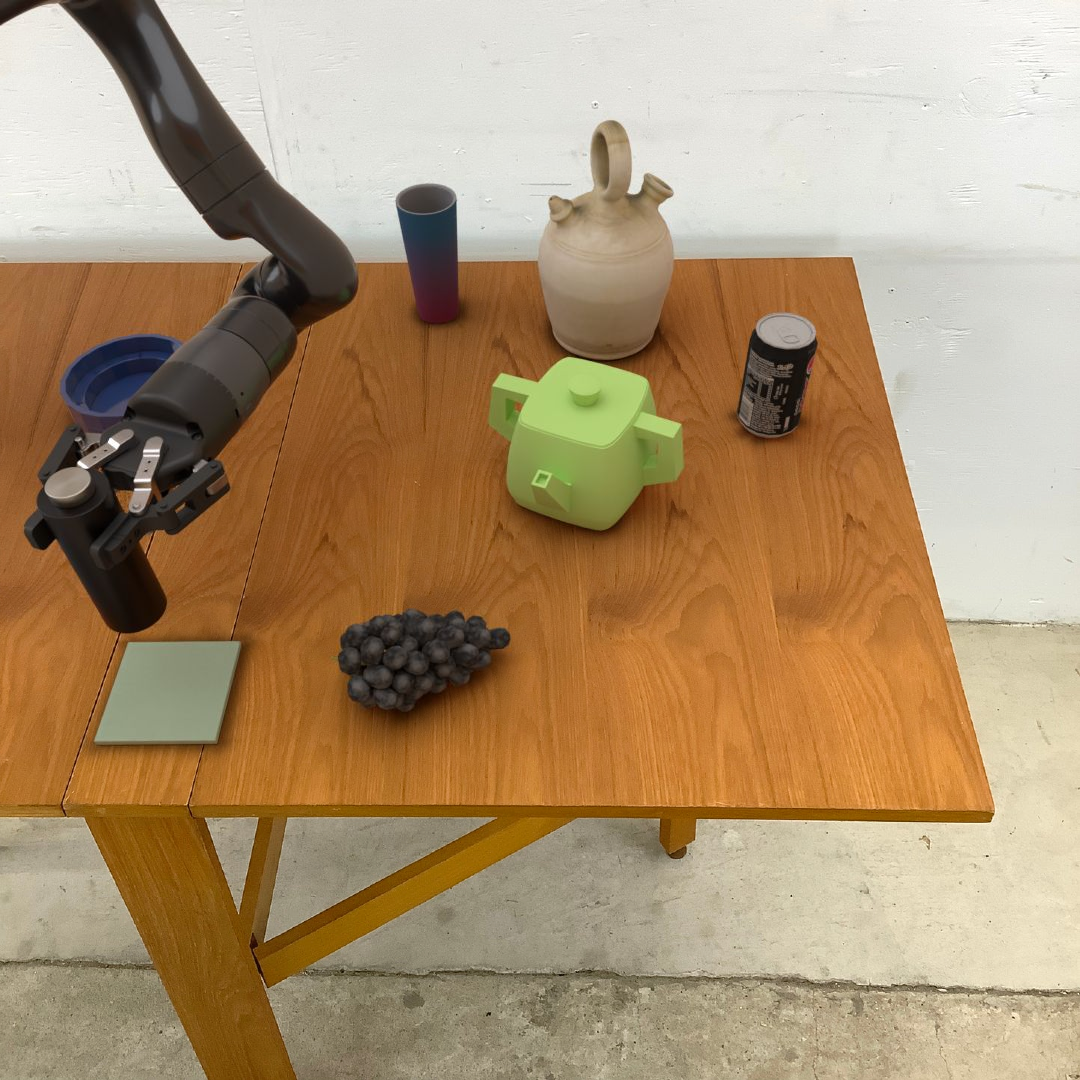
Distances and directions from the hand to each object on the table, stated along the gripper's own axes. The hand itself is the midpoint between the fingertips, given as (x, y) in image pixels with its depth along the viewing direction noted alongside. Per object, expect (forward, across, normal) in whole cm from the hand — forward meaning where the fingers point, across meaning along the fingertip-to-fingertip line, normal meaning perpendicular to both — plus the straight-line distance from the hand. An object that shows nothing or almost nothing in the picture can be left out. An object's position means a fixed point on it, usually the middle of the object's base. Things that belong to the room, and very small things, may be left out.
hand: (65, 550), depth 67 cm
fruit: (-10, +20, +21) cm, 31 cm away
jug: (-63, +20, +21) cm, 69 cm away
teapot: (-35, +25, +21) cm, 48 cm away
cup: (-60, 0, +21) cm, 64 cm away
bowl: (-33, -25, +21) cm, 46 cm away
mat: (-2, 0, +21) cm, 21 cm away
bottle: (-3, 0, +10) cm, 10 cm away
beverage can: (-53, +41, +21) cm, 70 cm away
